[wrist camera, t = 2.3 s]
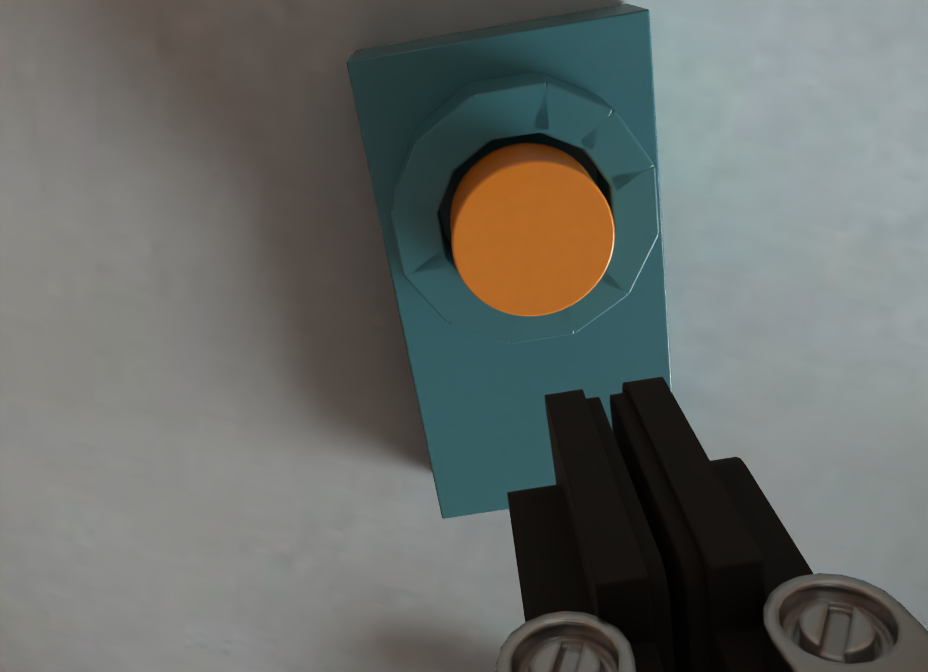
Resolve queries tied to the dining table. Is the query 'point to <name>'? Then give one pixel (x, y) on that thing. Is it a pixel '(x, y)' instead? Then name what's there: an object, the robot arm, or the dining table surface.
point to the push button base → (429, 236)
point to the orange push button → (530, 230)
